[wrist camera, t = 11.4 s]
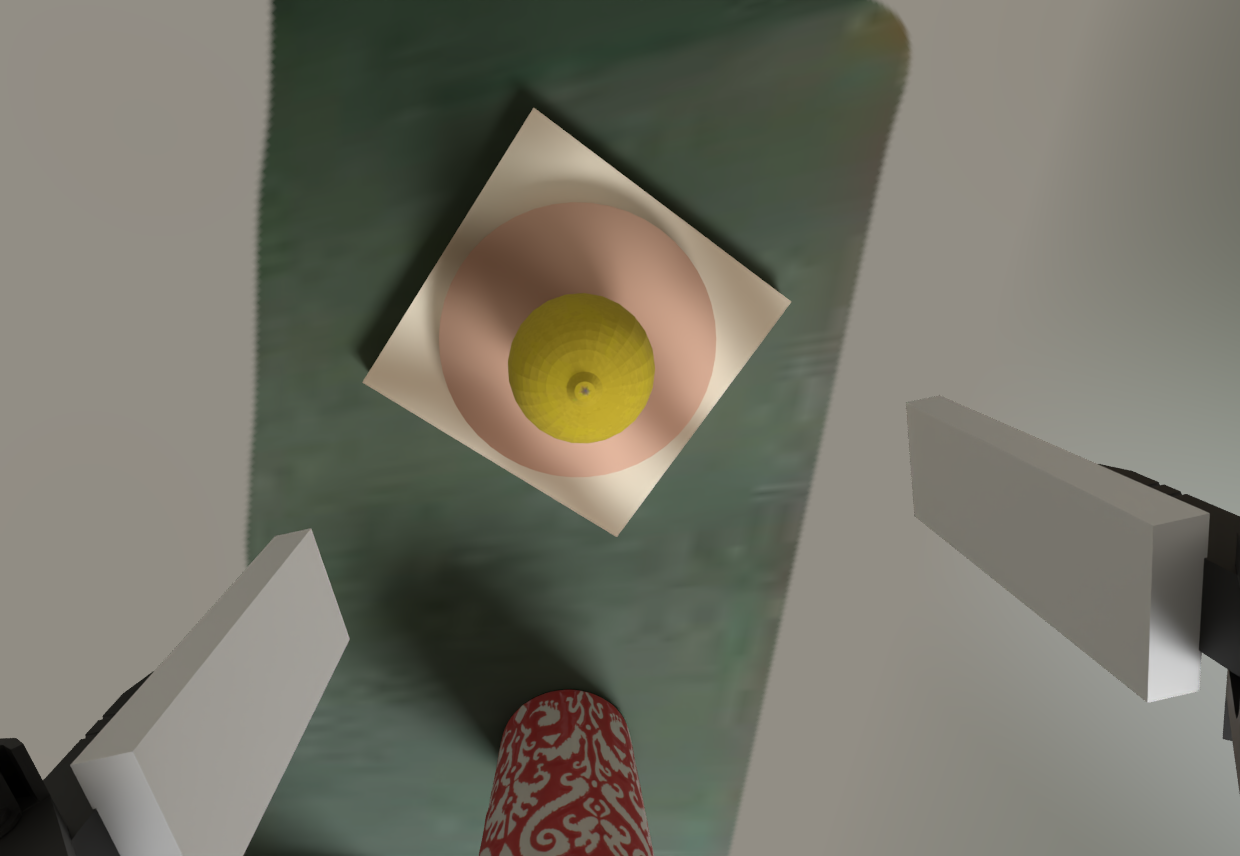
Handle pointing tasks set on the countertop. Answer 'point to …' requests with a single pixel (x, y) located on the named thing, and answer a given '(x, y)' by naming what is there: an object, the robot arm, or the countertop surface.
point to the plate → (569, 264)
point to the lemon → (581, 368)
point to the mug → (566, 782)
